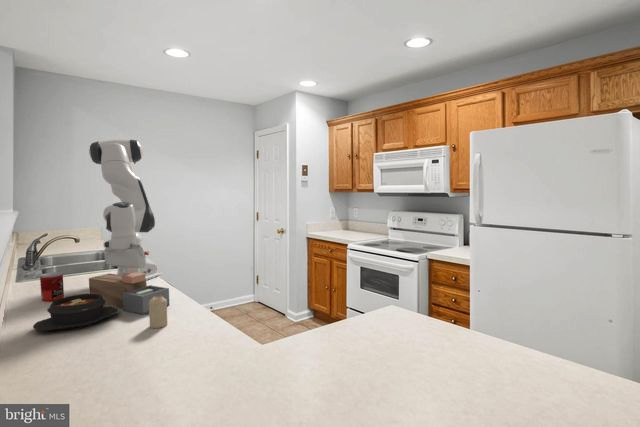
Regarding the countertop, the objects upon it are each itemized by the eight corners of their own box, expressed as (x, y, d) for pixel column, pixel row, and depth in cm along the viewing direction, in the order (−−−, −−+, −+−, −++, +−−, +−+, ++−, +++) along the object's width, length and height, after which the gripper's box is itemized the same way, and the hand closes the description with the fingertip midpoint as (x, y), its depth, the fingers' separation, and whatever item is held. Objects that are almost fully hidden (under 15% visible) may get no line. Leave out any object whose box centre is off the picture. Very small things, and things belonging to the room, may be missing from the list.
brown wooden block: (110, 296, 160) (109, 273, 159) (147, 302, 150) (146, 278, 149) (90, 301, 152) (88, 278, 151) (127, 309, 142) (125, 284, 141)
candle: (146, 326, 124) (145, 297, 123) (160, 321, 129) (159, 293, 128) (157, 329, 121) (156, 300, 121) (171, 324, 126) (169, 295, 126)
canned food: (55, 302, 152) (54, 276, 151) (36, 302, 152) (34, 276, 151) (68, 296, 160) (67, 271, 159) (50, 296, 160) (49, 271, 159)
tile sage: (148, 288, 147) (153, 289, 146) (149, 303, 147) (153, 304, 146) (135, 292, 141) (139, 293, 140) (136, 308, 142) (140, 309, 141)
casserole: (41, 341, 113) (39, 314, 112) (27, 326, 125) (26, 302, 125) (126, 319, 132) (125, 296, 131) (107, 308, 144) (106, 287, 143)
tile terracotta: (135, 278, 150) (135, 272, 150) (145, 280, 147) (145, 273, 147) (121, 281, 145) (121, 275, 144) (132, 283, 142) (131, 277, 142)
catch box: (150, 301, 151) (149, 285, 151) (169, 305, 147) (168, 288, 146) (123, 310, 141) (122, 292, 140) (143, 314, 136) (142, 296, 135)
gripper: (148, 243, 145) (150, 278, 146) (115, 240, 154) (116, 273, 155) (134, 246, 139) (136, 281, 140) (100, 242, 148) (102, 276, 149)
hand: (125, 277), depth 148 cm, fingers closed
